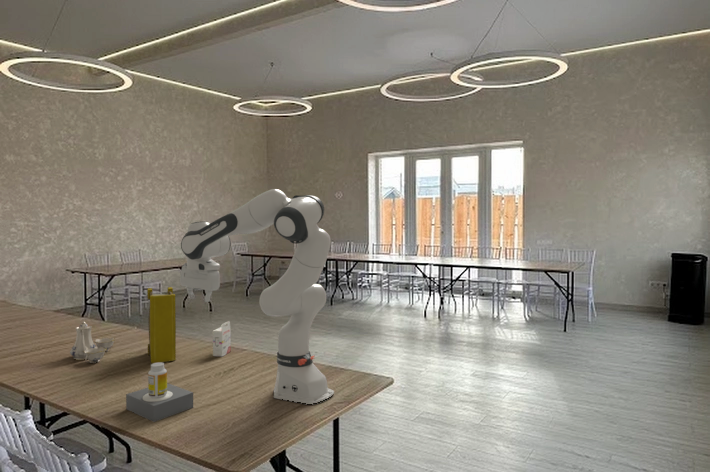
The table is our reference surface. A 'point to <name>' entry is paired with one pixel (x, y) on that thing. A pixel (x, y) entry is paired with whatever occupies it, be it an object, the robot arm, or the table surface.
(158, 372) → the supplement bottle
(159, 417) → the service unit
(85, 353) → the chinaware
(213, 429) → the table surface
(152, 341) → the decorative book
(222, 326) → the ink cartridge box
